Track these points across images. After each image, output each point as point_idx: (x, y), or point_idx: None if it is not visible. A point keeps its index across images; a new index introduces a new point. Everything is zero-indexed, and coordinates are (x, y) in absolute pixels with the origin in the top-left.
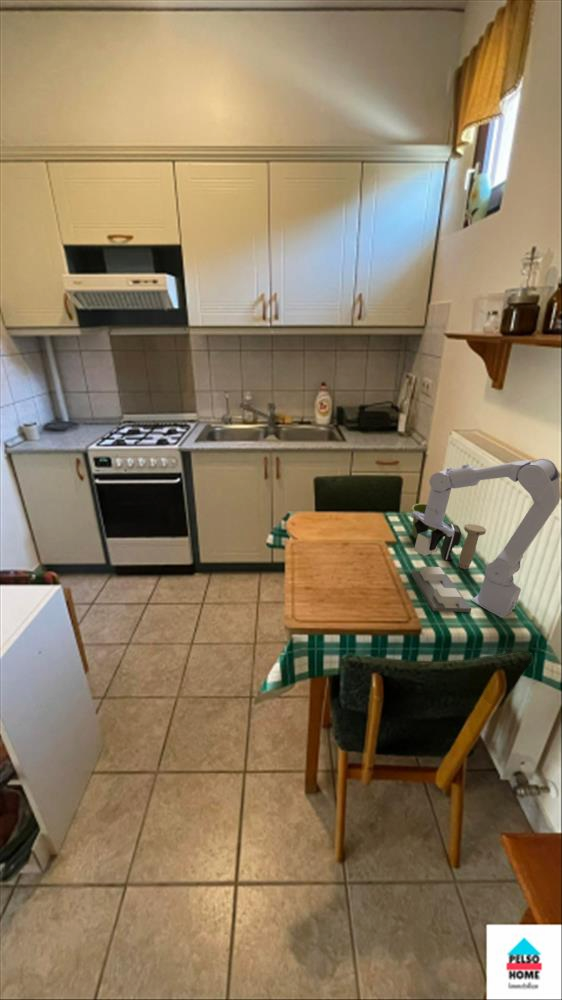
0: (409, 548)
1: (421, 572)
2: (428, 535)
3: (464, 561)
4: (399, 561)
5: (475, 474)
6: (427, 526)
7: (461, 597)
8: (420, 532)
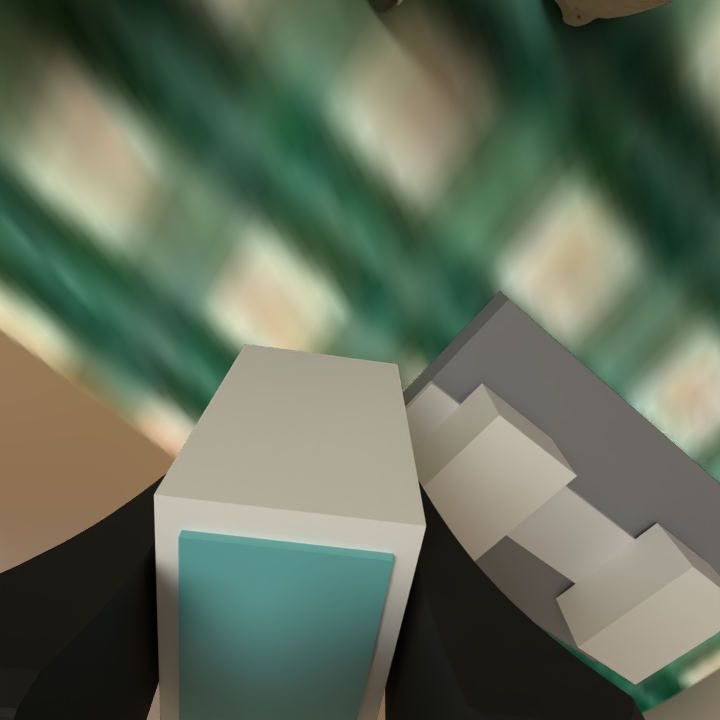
0: (46, 130)
1: None
2: (298, 701)
3: (646, 9)
4: (173, 404)
5: None
6: (98, 673)
7: (704, 491)
8: (149, 700)
